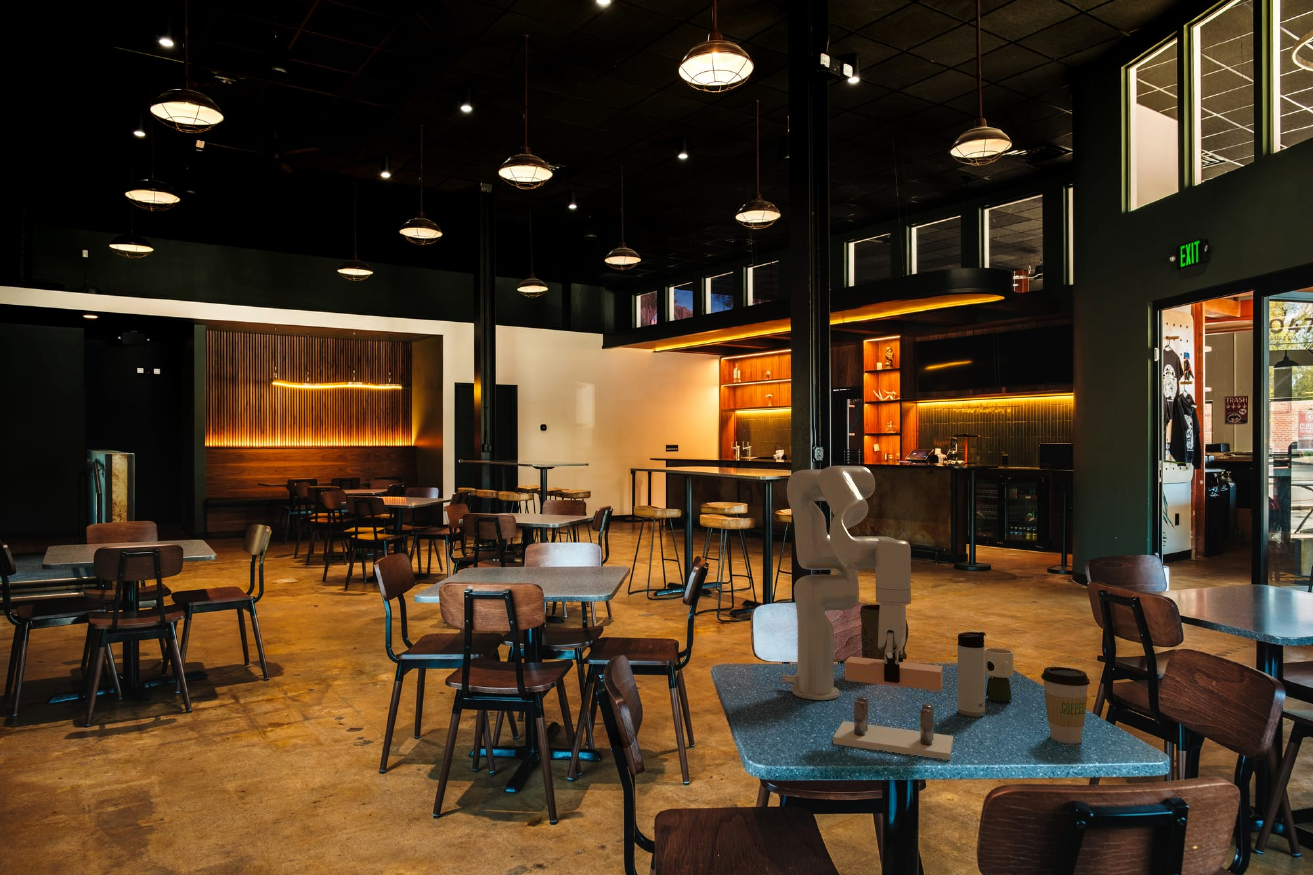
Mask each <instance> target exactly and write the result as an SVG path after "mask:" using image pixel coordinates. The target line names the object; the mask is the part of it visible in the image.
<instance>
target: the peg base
mask: <svg viewBox="0 0 1313 875" xmlns="http://www.w3.org/2000/svg"><path fill="white" fill-rule="evenodd" d="M832 738H833V739H832V744H833V745H839V746H846V747H853V748H860V749H865V748H866V749H867V750H872V751H873V750H874V751H879V750H883V751H882V752H885V751H887V752H886V753H892V752H895V753H894V754H899V753H900V754H901V755H906V754H911V755H910V756H913V755H921V756H926V757H935V758H942V759H950V760H951V758H950V757H952V753H953V752H952V751H953V746H954V735H948V734H940V733H934V740H932V745H930V746H926V745H922V744H921V743H920V730H912V729H903V728H896V727H890V726H889V727H888V726H881V725H873V724H868V731H865V736H857V735H855V734H854V721H842V723H841V724H840V725H839V727H838V729H837V730H836V732H835V734H834V735H833V737H832ZM866 749H865V750H866ZM951 752H952V753H951ZM926 757H925V758H926Z"/></svg>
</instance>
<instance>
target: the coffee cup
mask: <svg viewBox="0 0 1313 875" xmlns="http://www.w3.org/2000/svg"><path fill="white" fill-rule="evenodd" d="M1087 674H1088V673H1087V672H1085V671H1083V670H1081V669H1077V668H1072V667H1067V666H1066V667H1065V666H1047V667H1045V668H1044V669H1043V672H1042V673H1041V675H1040V676H1041V677H1040V678H1041V679H1042V680H1043V688H1044V689H1043V694H1044V701H1045V708H1046V715H1047V721H1048V726H1049V734H1050V738H1051V739H1052V740H1054V741H1056V742H1060V743H1065V744H1080V743H1081V742H1082V740H1083V731H1084V726H1085V721H1086V719H1085V718H1086V712H1087V711H1086V710H1087V702H1088V687H1089V685H1090V684H1091V682H1090V681H1091V680H1090V679H1089V678H1088V675H1087Z"/></svg>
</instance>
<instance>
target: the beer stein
mask: <svg viewBox="0 0 1313 875" xmlns="http://www.w3.org/2000/svg"><path fill="white" fill-rule="evenodd" d="M879 609H880V604H865V605H862V606H861V607H860V612H859V616H860V622H861V628H860V637H861V638H860V639H861V658H870V659H879V660H885V646H884V647H883V648H882V649H879V648H878V632H879ZM908 640H909V625H908V621H907V619H906V637H905V644H904V646H903V648H902V653H903V655H902V658H903V660H907V658H908V655H907V653H906V650H905V649H906V646H907V642H908Z"/></svg>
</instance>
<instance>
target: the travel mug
mask: <svg viewBox="0 0 1313 875" xmlns="http://www.w3.org/2000/svg"><path fill="white" fill-rule="evenodd" d="M986 636H987V633H986V632H984V631H967V632H961V633H958V634H957V712H958V713H959V714H960V715H962V716H965V715H966V716H965V717H972V718H980V717H981V716H982V717H983V716H985V714H986V708H985V707H986V681H985V680H986V674H985V650H984V649H986V647H985V637H986Z"/></svg>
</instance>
